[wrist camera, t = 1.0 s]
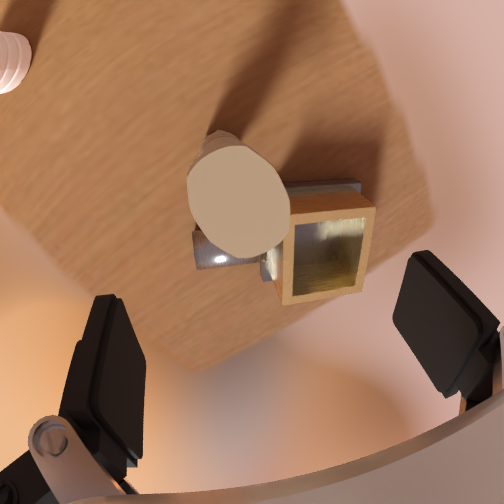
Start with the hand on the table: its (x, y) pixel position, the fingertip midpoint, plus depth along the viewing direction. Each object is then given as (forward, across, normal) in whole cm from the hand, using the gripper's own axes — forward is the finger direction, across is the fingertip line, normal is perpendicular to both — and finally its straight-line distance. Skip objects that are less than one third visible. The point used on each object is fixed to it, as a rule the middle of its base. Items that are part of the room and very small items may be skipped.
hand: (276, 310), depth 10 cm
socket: (+23, -6, +10) cm, 25 cm away
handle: (+23, 0, 0) cm, 23 cm away
